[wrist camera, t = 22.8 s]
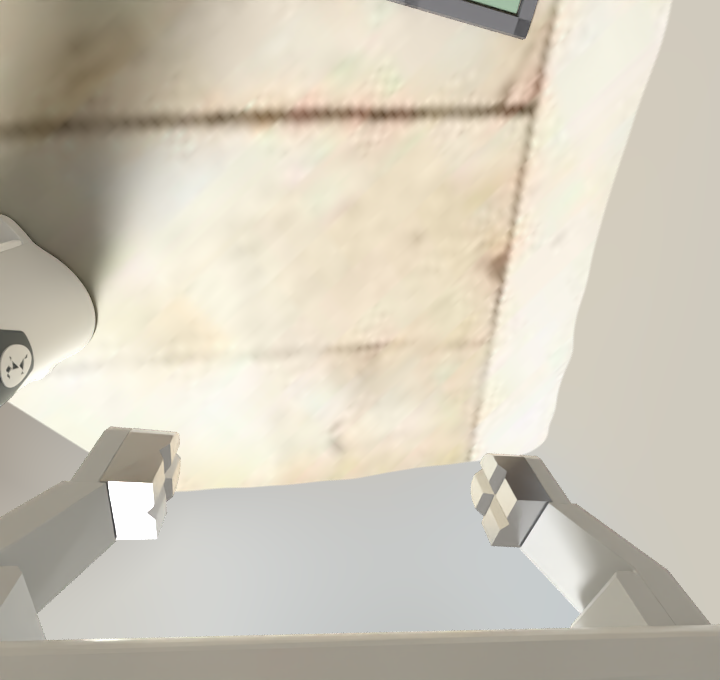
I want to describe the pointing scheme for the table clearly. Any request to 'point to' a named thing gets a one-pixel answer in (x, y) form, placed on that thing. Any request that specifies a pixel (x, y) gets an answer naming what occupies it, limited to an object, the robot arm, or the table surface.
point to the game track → (482, 13)
